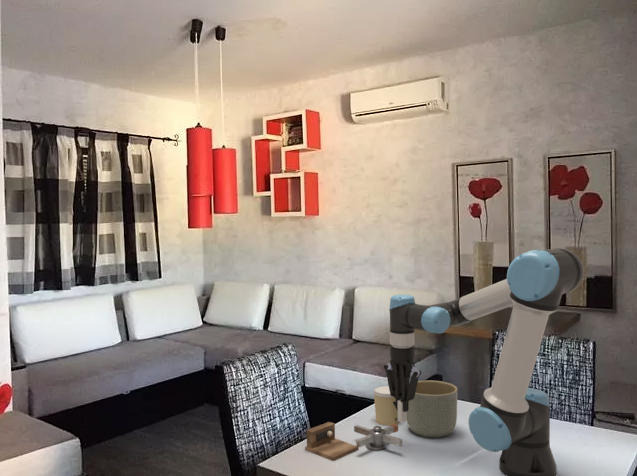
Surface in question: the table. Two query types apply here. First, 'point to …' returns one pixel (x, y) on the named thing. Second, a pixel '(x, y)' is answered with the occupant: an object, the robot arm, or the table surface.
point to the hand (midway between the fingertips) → (402, 420)
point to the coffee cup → (385, 406)
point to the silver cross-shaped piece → (377, 437)
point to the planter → (433, 409)
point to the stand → (327, 442)
